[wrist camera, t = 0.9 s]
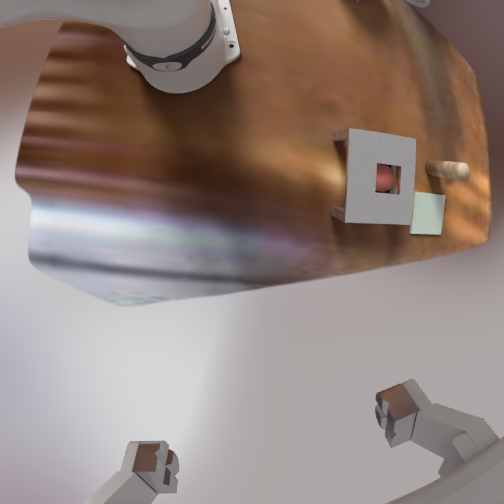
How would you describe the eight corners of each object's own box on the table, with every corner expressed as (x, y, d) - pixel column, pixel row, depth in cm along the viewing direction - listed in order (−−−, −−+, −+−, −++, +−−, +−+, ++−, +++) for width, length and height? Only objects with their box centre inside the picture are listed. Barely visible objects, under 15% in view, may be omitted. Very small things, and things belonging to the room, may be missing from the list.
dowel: (425, 159, 48) (458, 161, 39) (436, 161, 48) (470, 164, 39) (424, 174, 49) (457, 179, 39) (436, 176, 49) (469, 181, 40)
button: (363, 162, 46) (371, 163, 43) (386, 165, 46) (394, 165, 43) (362, 188, 47) (369, 190, 44) (385, 190, 47) (393, 192, 44)
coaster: (413, 191, 50) (415, 191, 49) (443, 195, 50) (445, 195, 50) (409, 232, 52) (410, 233, 52) (439, 233, 53) (440, 234, 52)
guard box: (333, 132, 46) (349, 128, 39) (394, 140, 47) (416, 139, 40) (329, 214, 50) (344, 222, 43) (389, 216, 51) (410, 224, 44)
